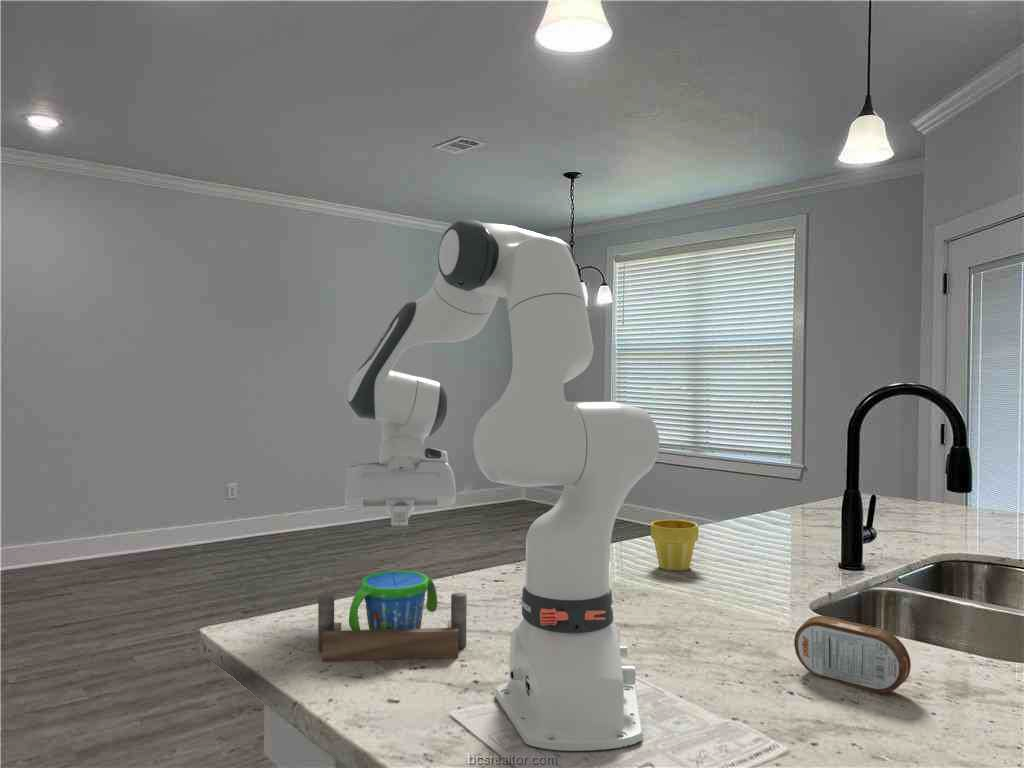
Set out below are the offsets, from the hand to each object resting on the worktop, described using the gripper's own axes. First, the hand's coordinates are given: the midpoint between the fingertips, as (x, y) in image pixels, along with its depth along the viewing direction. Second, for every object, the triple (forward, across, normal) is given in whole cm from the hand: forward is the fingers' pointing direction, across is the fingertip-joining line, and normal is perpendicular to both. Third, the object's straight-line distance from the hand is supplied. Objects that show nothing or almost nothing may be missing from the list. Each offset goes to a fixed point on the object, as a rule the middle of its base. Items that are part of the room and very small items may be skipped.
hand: (399, 523), depth 136 cm
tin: (+37, +64, -13) cm, 75 cm away
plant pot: (-9, +59, +31) cm, 67 cm away
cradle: (+24, 0, -1) cm, 24 cm away
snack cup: (+22, 0, +1) cm, 22 cm away
